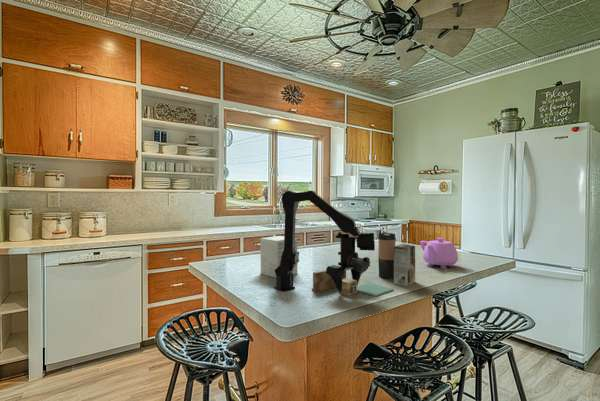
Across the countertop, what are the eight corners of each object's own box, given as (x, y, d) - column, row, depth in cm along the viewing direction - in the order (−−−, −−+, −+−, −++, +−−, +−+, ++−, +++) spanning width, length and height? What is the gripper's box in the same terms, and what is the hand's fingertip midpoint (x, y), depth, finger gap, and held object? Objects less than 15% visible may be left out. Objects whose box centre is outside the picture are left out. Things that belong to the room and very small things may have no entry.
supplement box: (298, 273, 154) (298, 237, 154) (277, 278, 145) (277, 240, 145) (280, 269, 164) (280, 235, 164) (259, 273, 155) (259, 237, 154)
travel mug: (398, 278, 146) (399, 234, 145) (385, 279, 143) (385, 235, 143) (388, 274, 153) (388, 232, 152) (375, 275, 150) (375, 233, 150)
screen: (317, 293, 124) (317, 273, 124) (310, 290, 127) (310, 271, 127) (348, 284, 136) (348, 266, 135) (341, 282, 139) (341, 265, 138)
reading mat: (375, 296, 119) (375, 295, 119) (350, 289, 128) (350, 288, 128) (393, 290, 127) (393, 288, 127) (369, 284, 136) (369, 282, 136)
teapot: (408, 265, 171) (408, 237, 171) (427, 260, 184) (427, 234, 184) (444, 272, 156) (445, 241, 156) (462, 266, 169) (462, 238, 169)
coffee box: (401, 279, 143) (401, 243, 143) (415, 282, 139) (415, 245, 139) (393, 284, 136) (393, 246, 136) (408, 286, 132) (408, 247, 132)
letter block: (349, 296, 120) (349, 283, 120) (338, 292, 124) (338, 280, 124) (357, 293, 123) (357, 280, 123) (347, 290, 127) (347, 278, 127)
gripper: (347, 255, 112) (347, 299, 112) (379, 249, 124) (379, 289, 124) (325, 251, 120) (325, 292, 120) (356, 246, 132) (356, 283, 132)
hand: (347, 289), depth 124 cm, fingers open, 9 cm apart
